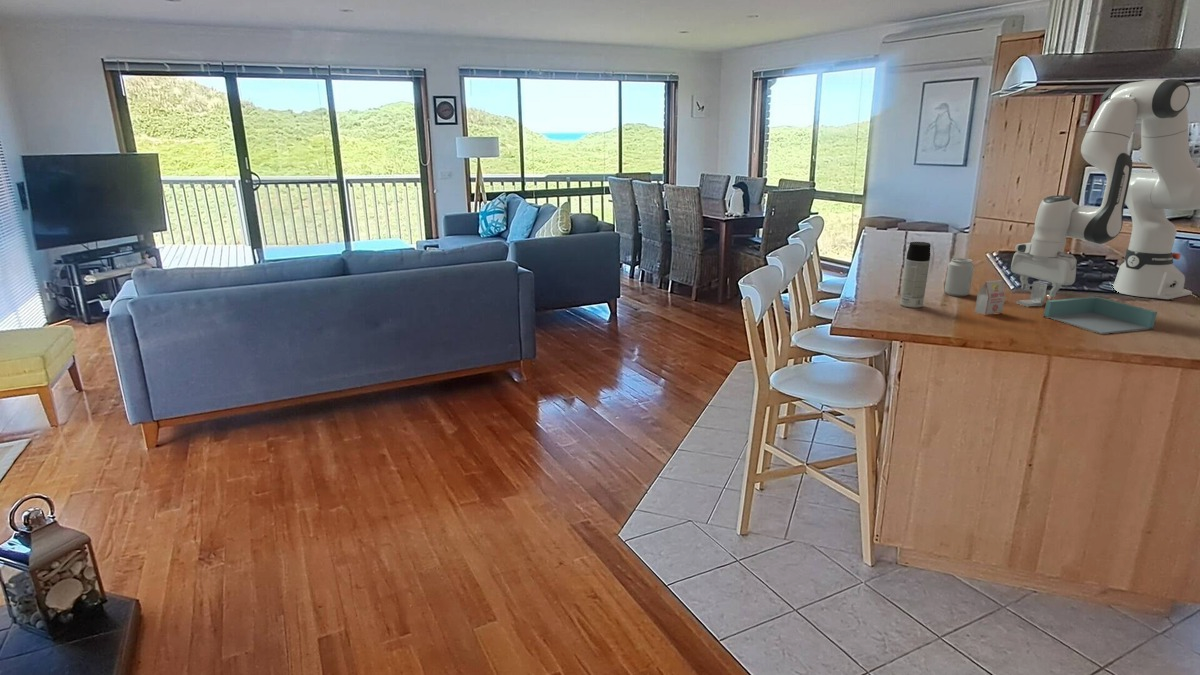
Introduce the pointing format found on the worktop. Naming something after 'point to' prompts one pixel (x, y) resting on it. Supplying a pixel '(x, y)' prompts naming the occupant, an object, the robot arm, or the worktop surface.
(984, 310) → the milk carton
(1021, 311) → the worktop surface
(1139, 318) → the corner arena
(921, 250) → the spray can
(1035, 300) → the bracket
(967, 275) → the can
